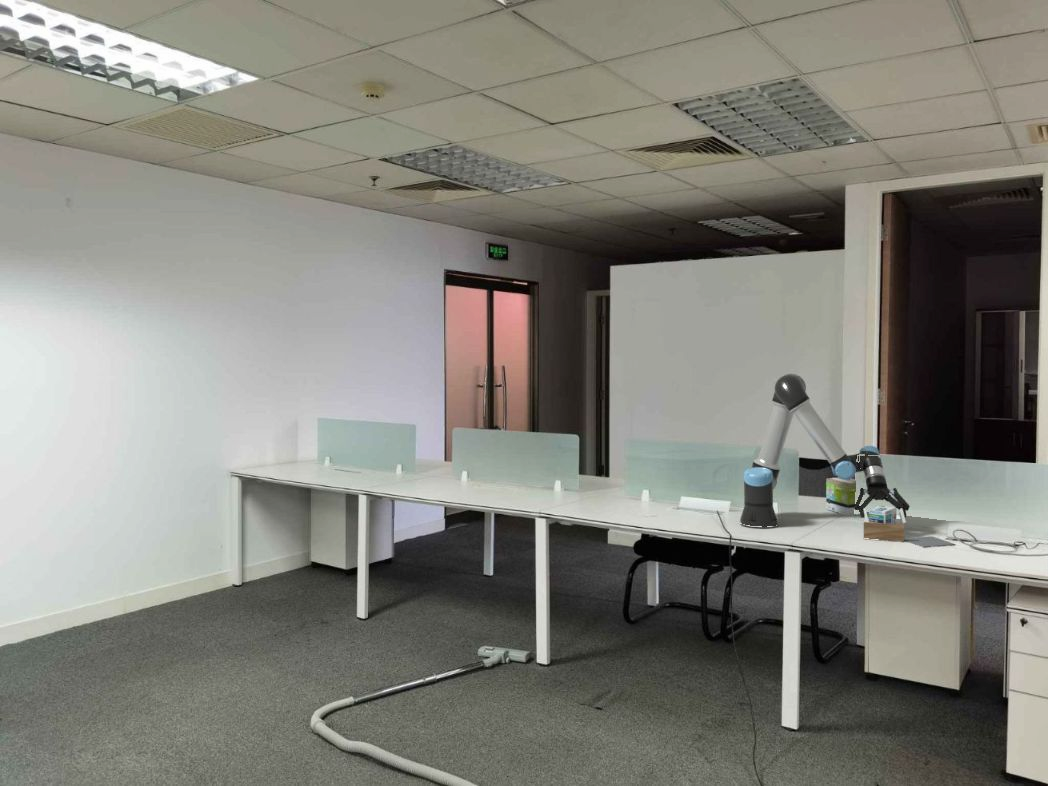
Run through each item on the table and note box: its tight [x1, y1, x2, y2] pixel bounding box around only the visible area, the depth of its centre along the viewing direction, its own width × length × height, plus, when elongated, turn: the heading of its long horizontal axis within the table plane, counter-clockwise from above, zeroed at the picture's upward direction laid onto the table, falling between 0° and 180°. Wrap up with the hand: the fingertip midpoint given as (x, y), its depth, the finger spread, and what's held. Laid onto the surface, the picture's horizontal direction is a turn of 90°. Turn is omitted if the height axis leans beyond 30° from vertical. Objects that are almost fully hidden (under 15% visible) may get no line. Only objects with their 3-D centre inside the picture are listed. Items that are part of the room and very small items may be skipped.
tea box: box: [825, 476, 856, 517], centre depth 358 cm, size 15×10×15 cm, turn 17°
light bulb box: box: [868, 505, 897, 524], centre depth 314 cm, size 11×7×11 cm, turn 133°
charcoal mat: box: [904, 535, 956, 548], centre depth 301 cm, size 13×13×1 cm
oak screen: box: [863, 521, 905, 543], centre depth 305 cm, size 1×14×6 cm, turn 65°
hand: (885, 524), depth 311 cm, fingers open, 13 cm apart
